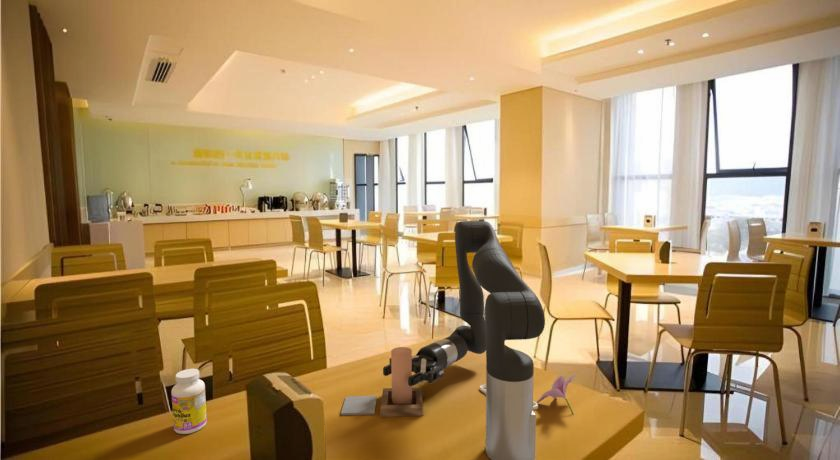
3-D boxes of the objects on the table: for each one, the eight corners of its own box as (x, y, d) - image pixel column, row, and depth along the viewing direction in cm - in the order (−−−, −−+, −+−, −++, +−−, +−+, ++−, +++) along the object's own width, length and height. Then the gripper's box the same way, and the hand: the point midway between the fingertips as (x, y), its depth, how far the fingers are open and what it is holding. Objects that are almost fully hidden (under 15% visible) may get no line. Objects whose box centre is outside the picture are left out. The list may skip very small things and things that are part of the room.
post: (412, 400, 107) (411, 346, 105) (412, 410, 102) (411, 354, 100) (392, 400, 107) (391, 347, 105) (391, 410, 102) (390, 355, 100)
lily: (582, 402, 107) (565, 365, 110) (602, 407, 96) (583, 366, 98) (539, 420, 106) (523, 382, 108) (555, 428, 94) (537, 385, 97)
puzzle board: (421, 394, 109) (421, 387, 109) (422, 415, 99) (422, 407, 99) (383, 395, 109) (383, 388, 109) (380, 416, 99) (380, 408, 99)
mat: (377, 397, 108) (377, 395, 108) (374, 414, 100) (374, 412, 100) (345, 398, 108) (345, 396, 108) (340, 415, 100) (340, 413, 100)
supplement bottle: (166, 432, 93) (162, 377, 92) (190, 417, 100) (187, 365, 98) (190, 437, 91) (186, 381, 90) (213, 421, 98) (210, 368, 96)
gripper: (417, 337, 118) (375, 354, 106) (459, 349, 109) (418, 370, 97) (417, 362, 119) (376, 383, 107) (459, 377, 110) (418, 401, 98)
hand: (396, 377), depth 102 cm, fingers open, 8 cm apart
